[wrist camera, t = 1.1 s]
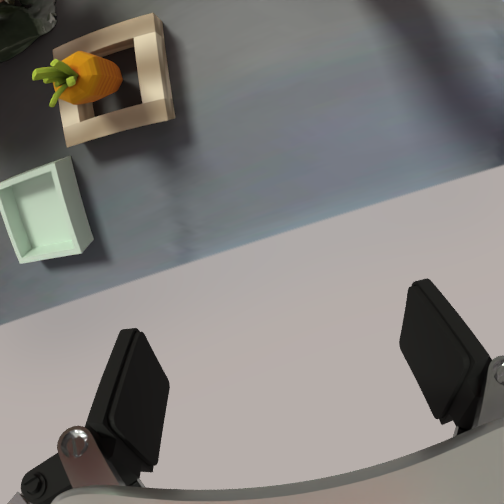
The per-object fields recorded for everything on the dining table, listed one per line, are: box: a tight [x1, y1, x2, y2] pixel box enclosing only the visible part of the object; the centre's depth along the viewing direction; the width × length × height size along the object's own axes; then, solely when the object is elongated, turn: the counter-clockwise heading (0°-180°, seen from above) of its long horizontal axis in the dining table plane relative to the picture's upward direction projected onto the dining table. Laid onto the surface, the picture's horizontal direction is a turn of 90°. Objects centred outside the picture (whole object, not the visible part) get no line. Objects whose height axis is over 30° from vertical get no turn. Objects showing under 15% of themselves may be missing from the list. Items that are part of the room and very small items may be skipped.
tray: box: [0, 156, 94, 264], centre depth 33 cm, size 12×12×4 cm
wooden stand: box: [53, 13, 175, 147], centre depth 27 cm, size 12×12×4 cm
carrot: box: [32, 51, 123, 107], centre depth 22 cm, size 5×5×15 cm
